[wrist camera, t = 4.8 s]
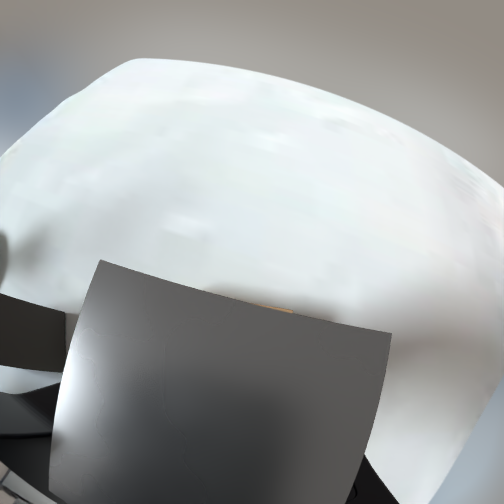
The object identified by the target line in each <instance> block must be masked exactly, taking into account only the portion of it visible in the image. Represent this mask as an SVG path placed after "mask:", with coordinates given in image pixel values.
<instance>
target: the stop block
mask: <svg viewBox="0 0 504 504" xmlns="http://www.w3.org/2000/svg"><path fill="white" fill-rule="evenodd" d="M391 335H392V333H387V332H381V331H376V330H370V329H365V328H360V327H354V326H349V325H344V324H339V323H334V322H330V321H325V320H320V319H315V318H311V317H306V316H302V315H297V314H293V313H289V312H284V311H280V310H276V309H272V308H267V307H263V306H259V305H255V304H251V303H247V302H243V301H239V300H235V299H232V298H228V297H224V296H220V295H216V294H213V293H209V292H205V291H202V290H198V289H195V288H191V287H188V286H184V285H181V284H177V283H174V282H170V281H167V280H163V279H160V278H157V277H154V276H150V275H147V274H144V273H140V272H137V271H134V270H131V269H128V268H125V267H122V266H118V265H115V264H112V263H109V262H106V261H103V260H100V261H99V264H98V266H97V268H96V271H95V273H94V276H93V279H92V281H91V284H90V286H89V289H88V292H87V295H86V297H85V300H84V303H83V306H82V309H81V312H80V315H79V318H78V321H77V324H76V327H75V331H74V334H73V338H72V341H71V345H70V348H69V352H68V356H67V360H66V364H65V368H64V372H63V376H62V381H61V385H60V390H59V395H58V401H57V406H56V412H55V419H54V425H53V433H52V442H51V452H50V467H49V491H51V492H52V493H53V494H55V495H56V496H57V497H59V498H60V499H62V500H63V501H64V502H66V503H67V504H345V502H346V500H347V498H348V495H349V493H350V490H351V488H352V486H353V483H354V480H355V478H356V475H357V473H358V470H359V467H360V464H361V462H362V459H363V456H364V453H365V450H366V447H367V443H368V440H369V437H370V434H371V430H372V427H373V423H374V419H375V416H376V412H377V408H378V404H379V400H380V395H381V391H382V386H383V382H384V377H385V372H386V366H387V361H388V355H389V349H390V342H391Z"/></svg>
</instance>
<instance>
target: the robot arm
mask: <svg viewBox="0 0 504 504" xmlns="http://www.w3.org/2000/svg"><path fill="white" fill-rule="evenodd" d="M60 385H61V382H59V383H56V384H53V385H50V386H47V387H44V388H40V389H37V390H34V391H30V392H27V393H23V394H7V393H3V392H0V504H67V503H66V502H64V501H63V500H62V499H60V498H59V497H57V496H56V495H55V494H53V493H52V492H51V491H49V467H50V452H51V442H52V433H53V425H54V419H55V412H56V406H57V401H58V395H59V390H60ZM345 504H399V503H398V501H397V500H396V499H395V497H394V496H393V495H392V494H391V492H390V491H389V490H388V488H387V487H386V486H385V484H384V483H383V482H382V480H381V479H380V478H379V476H378V475H377V473H376V472H375V470H374V469H373V468H372V466H371V464H370V463H369V461H368V459H367V458H366V456H365V454H364V456H363V459H362V462H361V464H360V467H359V470H358V473H357V475H356V478H355V480H354V483H353V486H352V488H351V490H350V493H349V495H348V498H347V500H346V502H345Z"/></svg>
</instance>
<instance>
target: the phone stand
mask: <svg viewBox="0 0 504 504" xmlns="http://www.w3.org/2000/svg"><path fill="white" fill-rule="evenodd" d="M65 364H66V358H65V312H62V311H58V310H54V309H51V308H47V307H43V306H40V305H36V304H33V303H29V302H26V301H23V300H19V299H16V298H13V297H10V296H7V295H4V294H1V293H0V365H3V366H9V367H16V368H23V369H31V370H39V371H50V372H62V373H63V372H64V368H65Z"/></svg>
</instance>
